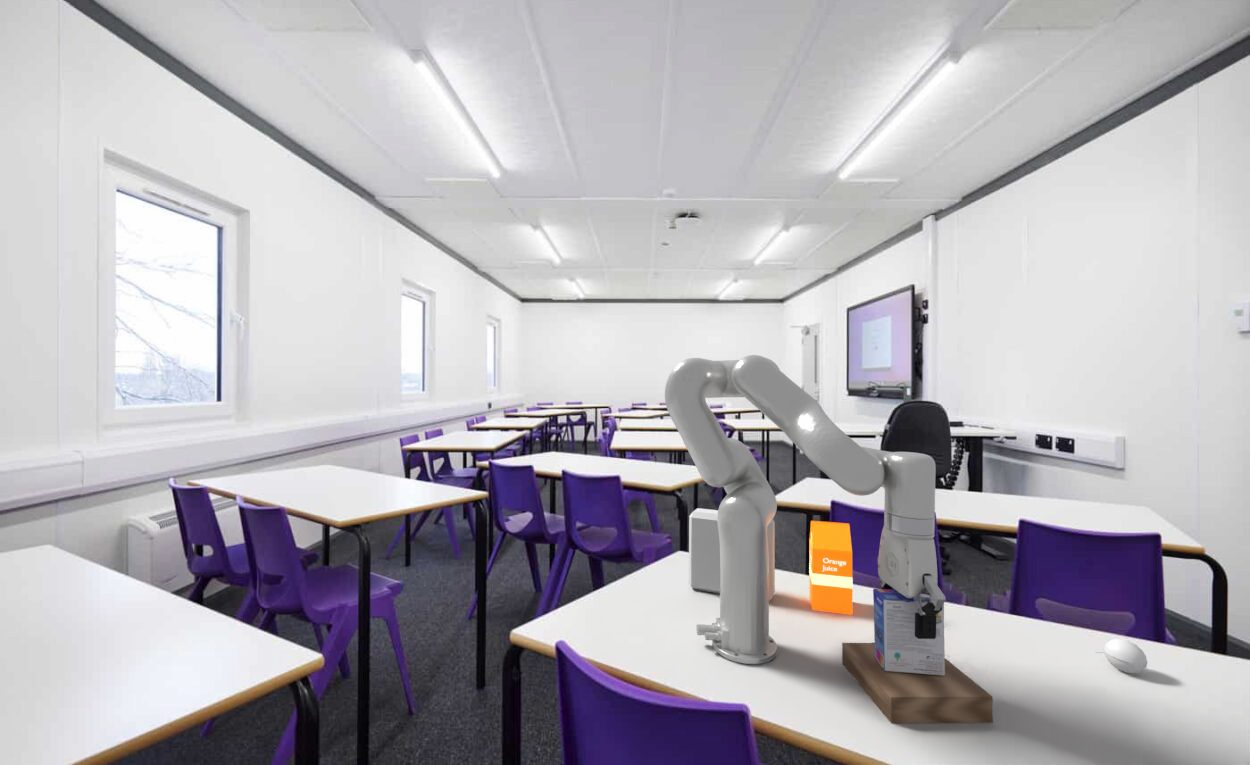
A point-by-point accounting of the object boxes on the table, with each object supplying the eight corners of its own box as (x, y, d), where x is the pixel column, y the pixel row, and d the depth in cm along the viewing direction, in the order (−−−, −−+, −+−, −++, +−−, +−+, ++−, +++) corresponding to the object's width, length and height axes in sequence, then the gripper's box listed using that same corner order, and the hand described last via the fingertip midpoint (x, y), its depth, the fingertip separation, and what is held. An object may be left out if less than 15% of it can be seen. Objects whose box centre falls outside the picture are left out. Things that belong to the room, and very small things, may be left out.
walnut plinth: (891, 723, 74) (891, 697, 74) (842, 664, 90) (842, 642, 90) (992, 722, 74) (992, 696, 74) (925, 664, 90) (925, 642, 90)
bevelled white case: (775, 592, 122) (775, 514, 123) (771, 605, 115) (771, 522, 115) (695, 579, 131) (696, 505, 131) (687, 590, 123) (687, 512, 124)
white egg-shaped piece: (1134, 665, 90) (1133, 635, 91) (1156, 682, 85) (1155, 650, 85) (1083, 658, 93) (1083, 628, 93) (1101, 674, 88) (1101, 643, 88)
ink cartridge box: (930, 659, 85) (930, 576, 85) (947, 677, 79) (947, 589, 80) (871, 654, 86) (871, 573, 86) (884, 672, 81) (884, 586, 81)
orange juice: (852, 615, 110) (852, 528, 111) (812, 609, 113) (811, 524, 113) (847, 600, 118) (847, 519, 118) (809, 596, 120) (808, 516, 121)
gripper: (861, 510, 91) (859, 600, 91) (919, 539, 74) (917, 650, 74) (900, 511, 92) (898, 601, 91) (966, 540, 74) (964, 651, 74)
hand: (906, 623), depth 83 cm, fingers open, 9 cm apart
